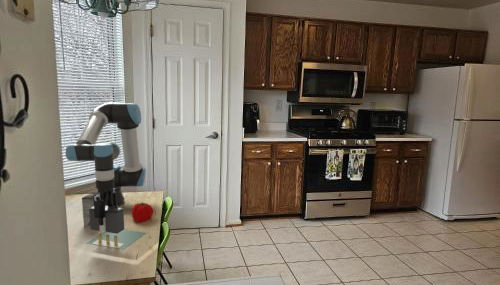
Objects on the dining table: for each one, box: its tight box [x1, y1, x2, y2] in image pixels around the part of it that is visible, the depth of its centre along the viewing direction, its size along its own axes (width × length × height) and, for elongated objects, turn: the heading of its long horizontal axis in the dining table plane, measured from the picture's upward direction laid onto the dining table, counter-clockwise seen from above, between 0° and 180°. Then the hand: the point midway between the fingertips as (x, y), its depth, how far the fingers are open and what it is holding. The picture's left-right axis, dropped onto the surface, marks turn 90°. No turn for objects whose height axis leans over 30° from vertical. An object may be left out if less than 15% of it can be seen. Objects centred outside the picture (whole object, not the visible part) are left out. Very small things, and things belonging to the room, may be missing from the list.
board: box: [86, 228, 147, 251], centre depth 156 cm, size 18×20×6 cm
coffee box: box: [81, 192, 98, 227], centre depth 172 cm, size 9×6×16 cm
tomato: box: [131, 201, 154, 223], centre depth 179 cm, size 11×13×10 cm
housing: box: [89, 206, 125, 234], centre depth 148 cm, size 5×14×10 cm, turn 75°
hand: (107, 228), depth 149 cm, fingers closed on housing, 5 cm apart
